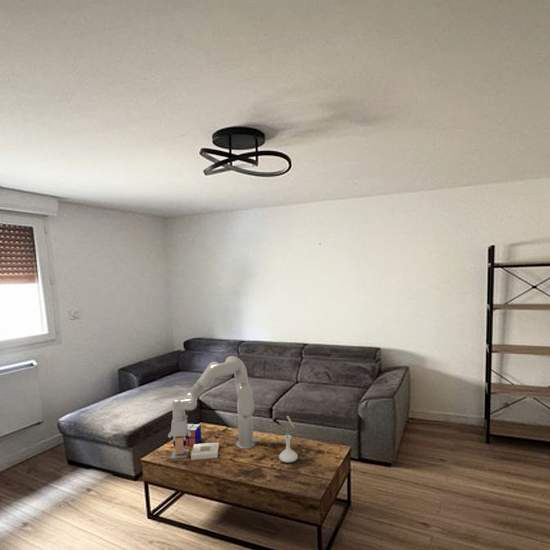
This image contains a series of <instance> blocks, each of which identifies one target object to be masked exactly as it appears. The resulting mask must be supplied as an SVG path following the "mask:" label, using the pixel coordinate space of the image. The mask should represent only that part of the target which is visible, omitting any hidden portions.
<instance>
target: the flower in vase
mask: <svg viewBox="0 0 550 550" xmlns="http://www.w3.org/2000/svg"><path fill="white" fill-rule="evenodd" d="M286 418H287V420H288V423H287V426H286V428H285V429H286V434H285V435H283V438H284V441H285V449H284V450H282V451H281V452H280V453H279V456H278V459H279V460H280V461H281V462H283V463H292V462H293V463H294V462H295V461H297V460H298V458H299V457H298V454H297V453H296V452H295V451H294V450H293V449H292V448H291V440H292V438H293V436H292V435H290V434H289V429H288V427H289V424H290V425H291V427H292V428H294V429H295V425H294V424H293V422H292V420H291V418H290V416H289V415H286Z"/></svg>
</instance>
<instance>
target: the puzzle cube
mask: <svg viewBox="0 0 550 550" xmlns="http://www.w3.org/2000/svg"><path fill="white" fill-rule="evenodd" d="M187 424H188V430H189V431H190V432H191V435H190V436H189V437H188V438H187V439H186V445H187V446H188V445H190V446H194V444H199V443H200V441H201V439H202V425H201V423H200V424H199V423H197V424H196V423H195V424H194V423H187ZM187 435H188V433H187ZM187 435H186V436H187ZM186 445H185V446H186Z"/></svg>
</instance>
